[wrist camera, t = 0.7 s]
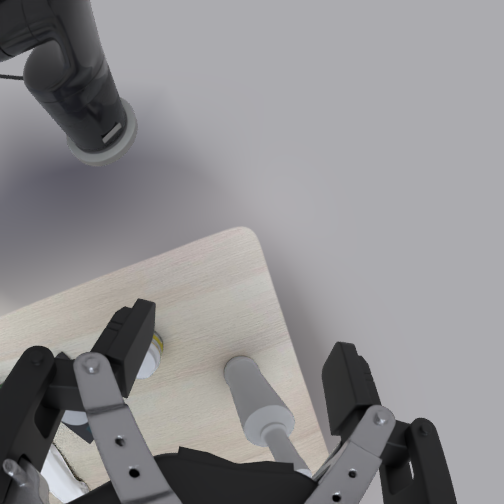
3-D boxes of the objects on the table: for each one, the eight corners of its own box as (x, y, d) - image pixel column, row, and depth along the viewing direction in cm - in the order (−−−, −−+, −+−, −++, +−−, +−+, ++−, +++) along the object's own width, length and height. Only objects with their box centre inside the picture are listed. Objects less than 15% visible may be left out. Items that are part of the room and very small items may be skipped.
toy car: (14, 428, 33) (4, 439, 28) (41, 423, 34) (32, 435, 30) (68, 498, 34) (62, 511, 29) (97, 496, 35) (92, 510, 31)
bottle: (263, 375, 43) (339, 476, 18) (234, 392, 42) (283, 507, 17) (247, 348, 42) (316, 441, 18) (216, 365, 41) (252, 476, 17)
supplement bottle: (131, 358, 39) (119, 379, 30) (130, 326, 39) (118, 342, 31) (163, 360, 40) (159, 383, 31) (163, 329, 40) (158, 346, 32)
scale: (36, 390, 35) (29, 396, 32) (62, 351, 36) (55, 356, 34) (92, 438, 36) (89, 446, 34) (122, 403, 38) (119, 410, 35)
